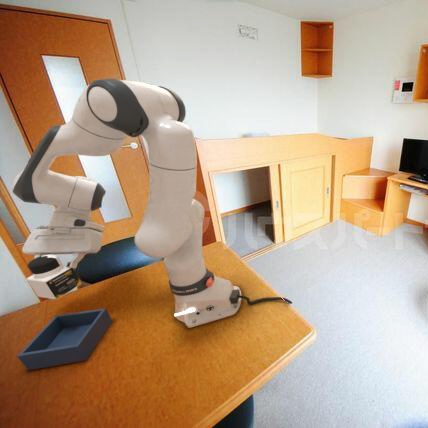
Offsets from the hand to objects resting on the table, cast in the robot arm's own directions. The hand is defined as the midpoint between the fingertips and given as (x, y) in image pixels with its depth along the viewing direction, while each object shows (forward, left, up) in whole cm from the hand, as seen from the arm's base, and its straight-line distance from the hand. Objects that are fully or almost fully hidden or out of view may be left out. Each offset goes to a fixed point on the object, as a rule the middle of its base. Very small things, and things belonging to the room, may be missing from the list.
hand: (55, 268), depth 72 cm
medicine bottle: (+1, +1, -7) cm, 8 cm away
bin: (-3, +10, -21) cm, 24 cm away
